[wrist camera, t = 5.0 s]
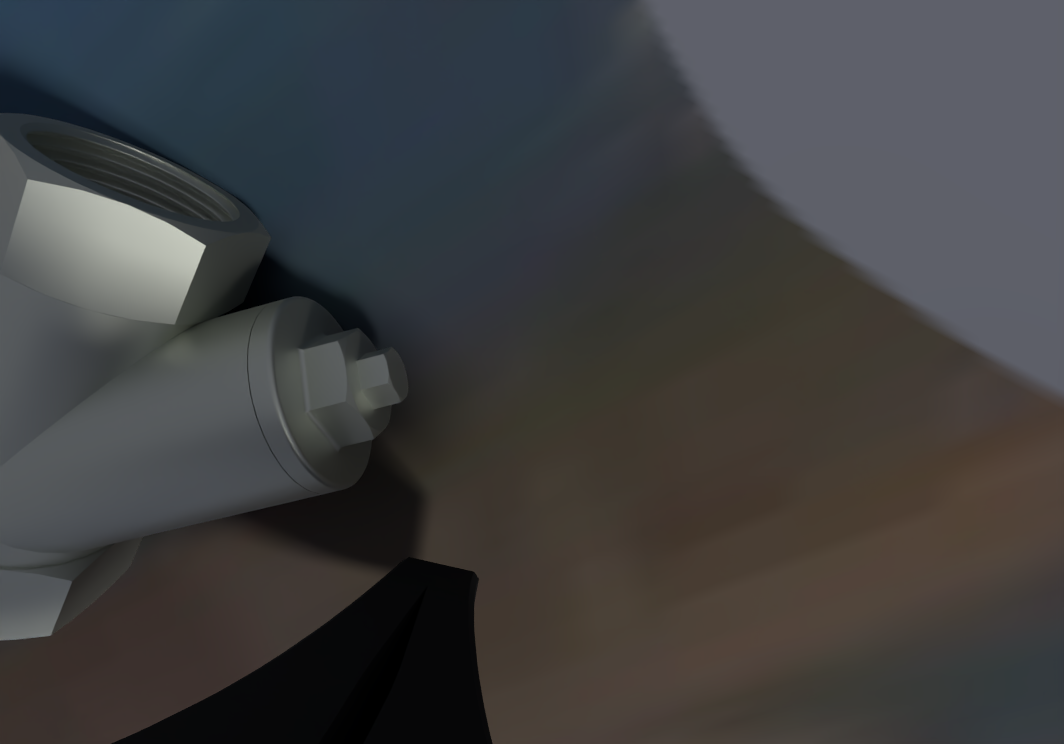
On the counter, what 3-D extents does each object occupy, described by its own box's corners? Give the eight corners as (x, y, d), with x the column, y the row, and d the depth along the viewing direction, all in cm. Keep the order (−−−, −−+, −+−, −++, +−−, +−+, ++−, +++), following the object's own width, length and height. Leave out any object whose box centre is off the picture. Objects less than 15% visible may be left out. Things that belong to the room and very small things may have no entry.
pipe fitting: (456, 317, 11) (128, 131, 10) (408, 374, 7) (-111, 90, 7) (295, 612, 13) (11, 475, 12) (194, 772, 9) (-219, 592, 9)
